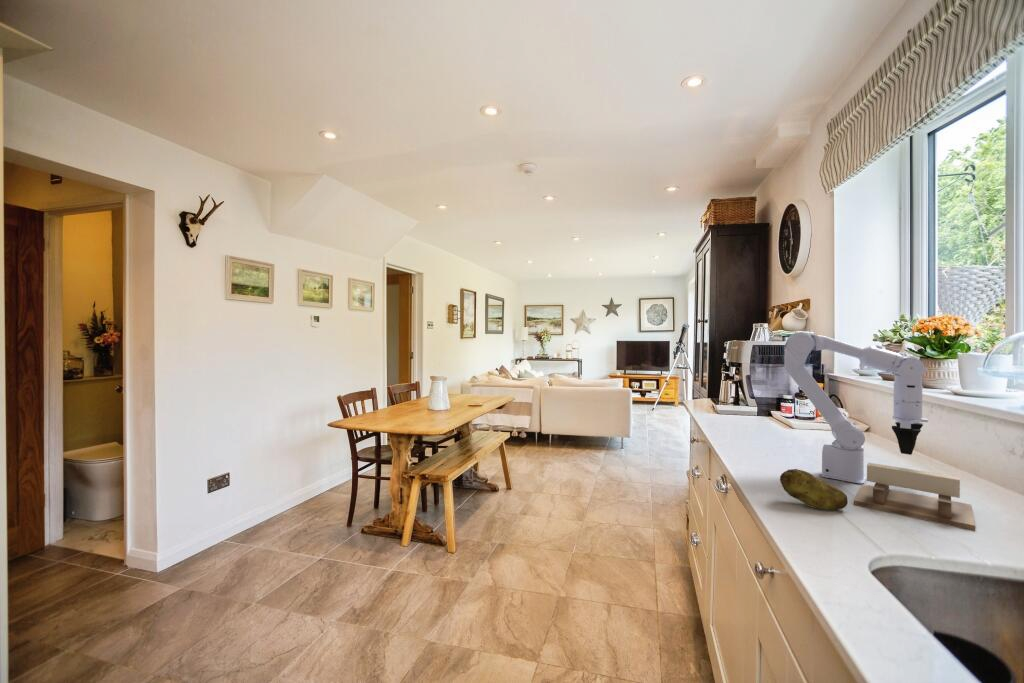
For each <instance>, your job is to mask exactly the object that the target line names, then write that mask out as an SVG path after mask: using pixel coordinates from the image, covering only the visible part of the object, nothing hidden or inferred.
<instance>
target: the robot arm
mask: <svg viewBox="0 0 1024 683" xmlns="http://www.w3.org/2000/svg"><path fill="white" fill-rule="evenodd" d="M883 348H884V347H883V346H881V345H875V346H874V345H869V346H868V345H867V346H866V347H859V346H857V345H854V344H850V343H847V342H844V341H842V340H838V339H834V338H831V337H829V336H825V335H821V334H820V335H819V334H809V333H807V332H804V331H803V332H802V331H800V332H794V333H792V334H790V335H789V336H788V337H787V339H786V342H785V344H784V347H783V350H784V369H785V371H786V372H787V373H788V375H789V376H790V377H791V378H792V380H793V381H794V382H795V384H796V385H797V386H798V388H799V389H800V390H801V391H802V393H804V394H805V397H807V399H808V400H809V401H810V403H811V404H812V405H813V406H814V408H815V409H816V410H817V412H818V413H819V414H820V415H821V417H822V418H823V419H824V421H826V423H827V425H829V427H830V429H831V433H832V436H833V437H834V440H833V442H832V443H831V444H826V443H825V444H823V446H822V449H821V450H822V451H821V477H823V478H827V479H828V478H829V479H834V480H839V481H844V482H849V483H855V484H861V485H862V484H864V485H865V482H867V475H865V474H864V467H865V466H864V465H865V464H864V462H865V461H864V460H865V459H864V458H865V456H864V455H865V454H864V453H865V450H864V449H865V447H864V446H863V445H864V443H865V441H866V436H865V433H864V432H863V431H862V430H861V429H859V428H858V427H857V426H856V425H855V424H854V423H852V422H851V421H849V420H848V419H847V417H846V416H845V415H844V414H843V413H842V412H841V411H840V409H839V408H838V407H837V405H836V404H835V403H834V401H833V400H832V399H831V398H830V397H829V396H828V395H827V393H826V392H825V390H823V388H822V387H821V385H820V384H819V383H818V382H817V381H816V379H815V378H814V377H813V376H812V374H811V373H810V372H809V371H808V370H807V368H806V363H807V359H808V355H810V353H811V352H812V351H823V350H826V351H829V352H830V351H831V352H835V353H838V354H841V355H846V356H849V357H852V358H856V359H857V360H859V362H860V364H861V365H862V366H865V367H869V368H871V369H874V370H878V371H882V372H885V373H888V374H891V373H892V374H894V376H893V377H894V378H893V379H894V380H893V382H894V383H893V415H892V420H894V422H895V423H894V424H895V425H891V429H892V431H893V433H894V434H895V437H896V440H897V443H898V447H899V452H900V454H902V455H903V454H904V455H909V456H912V454H913V452H914V449H915V447H916V444H917V439H918V436H919V434H920V433H921V432H922V428H923V426H924V424H923V423H928V422H929V418H923V384H922V383H923V382H922V381H923V378H922V377H923V376H924V375H925V374H926V372H927V368H926V366H925V363H924V362H922V361H921V360H920V359H918V358H916V357H912V356H911V357H910V356H908V355H904V354H905V352H902V351H901V352H900V351H898V352H894V351H891V350H887V349H883Z"/></svg>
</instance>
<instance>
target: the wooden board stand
mask: <svg viewBox="0 0 1024 683" xmlns="http://www.w3.org/2000/svg"><path fill="white" fill-rule="evenodd" d="M937 495H938V497H934V496H927V495H922V494H916V493H913V492H912V493H911V492H905V491H901V490H895V489H891V488H890V485H886V484H880V483H875V482H874V485H871V484H870V485H868V484H865V483H864V484H861V486H860V487H859V489H858V491H857V493H856V495H855V497H854V498H853V505H855V506H859V507H865V508H869V509H873V510H879V511H883V512H888V513H892V514H897V515H902V516H905V517H911V518H916V519H920V520H925V521H929V522H934V523H940V524H943V525H949V526H953V527H957V528H961V529H962V528H963V529H967V530H971V531H976V521H975V516H974V511H973V506H972V504H971V503H965V502H962V501H961V502H959V501H954V500H952V497H951V496H946V495H940V494H937Z"/></svg>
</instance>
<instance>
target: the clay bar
mask: <svg viewBox="0 0 1024 683" xmlns="http://www.w3.org/2000/svg"><path fill="white" fill-rule="evenodd" d="M866 476H867V479H866V482H869V483H874V484H875V483H880V484H886V485H889V486H890V487H891V486H892V487H897V488H903V489H908V490H915V491H919V492H926V493H929V494H934V495H935V494H937V495H938V494H940V495H946V496H951V498H957V499H960V497H961V494H960V493H961V492H960V490H961V482H960V481H961V478H960V476H954V475H950V474H949V475H948V474H941V473H935V472H930V471H923V470H917V469H911V468H906V467H905V468H904V467H898V466H892V465H886V464H885V465H884V464H881V463H880V464H879V463H873V462H868V463H867V464H866Z"/></svg>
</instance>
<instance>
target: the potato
mask: <svg viewBox="0 0 1024 683" xmlns="http://www.w3.org/2000/svg"><path fill="white" fill-rule="evenodd" d="M779 482H780V483H781V486H782V488H783V490H784V491H785V492H786V494H787V495H788V496H789V497H792V498H794V499H795V500H798V501H800V502H801V503H803V504H805V505H806V506H807V507H808V506H809V507H810V508H814V509H817V510H823V511H837V510H842V509H845V508H846V507H847V505H848V502H849V500H848V496H847V494H846V493H845V492H843V491H842V490H841V489H839V488H838V487H835V486H834V485H832V484H830V483H827V482H825V480H822V479H820V478H819V477H817V476H815V475H813V474H812V473H810V472H809V471H805V470H803V469H798V468H794V469H793V468H792V469H787V470H785V471H784V472H782V473H781V475H780V477H779Z"/></svg>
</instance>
